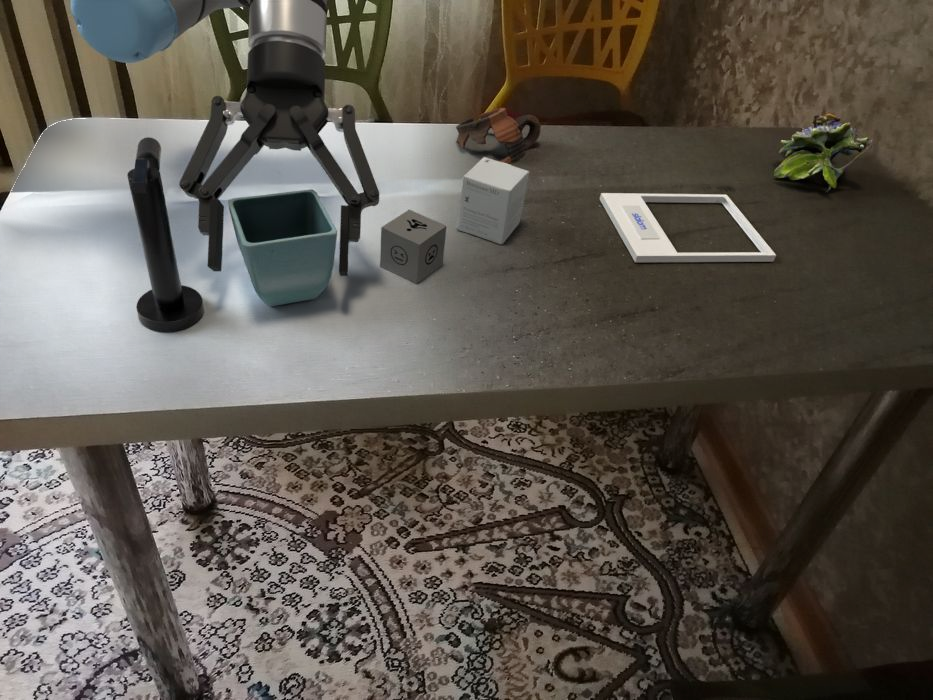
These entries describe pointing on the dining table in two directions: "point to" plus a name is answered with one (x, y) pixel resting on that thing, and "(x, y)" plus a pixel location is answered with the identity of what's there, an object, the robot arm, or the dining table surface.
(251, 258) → the flower pot
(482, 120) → the pottery mug
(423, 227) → the dice cube
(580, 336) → the dining table surface
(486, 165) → the product box
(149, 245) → the tap
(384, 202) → the dining table surface
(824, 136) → the passion flower
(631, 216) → the photo frame
